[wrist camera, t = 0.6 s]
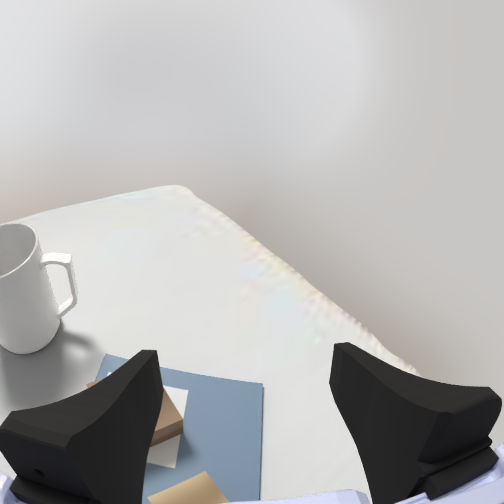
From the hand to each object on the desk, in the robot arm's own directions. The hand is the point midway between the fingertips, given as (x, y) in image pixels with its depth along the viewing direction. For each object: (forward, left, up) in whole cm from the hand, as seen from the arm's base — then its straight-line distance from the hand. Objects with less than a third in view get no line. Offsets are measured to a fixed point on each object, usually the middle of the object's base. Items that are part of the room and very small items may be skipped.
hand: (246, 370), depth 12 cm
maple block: (-5, +1, -16) cm, 17 cm away
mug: (+10, +21, -17) cm, 29 cm away
